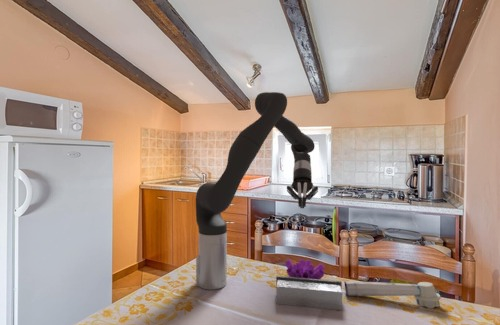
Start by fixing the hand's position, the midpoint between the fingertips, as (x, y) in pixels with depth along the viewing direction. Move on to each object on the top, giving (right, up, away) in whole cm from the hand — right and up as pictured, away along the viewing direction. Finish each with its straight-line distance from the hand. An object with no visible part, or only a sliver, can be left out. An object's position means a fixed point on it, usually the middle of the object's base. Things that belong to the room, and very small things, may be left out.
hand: (302, 207), depth 107 cm
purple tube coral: (-1, -24, -12) cm, 26 cm away
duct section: (-3, -24, -26) cm, 35 cm away
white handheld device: (+22, -24, -24) cm, 40 cm away
